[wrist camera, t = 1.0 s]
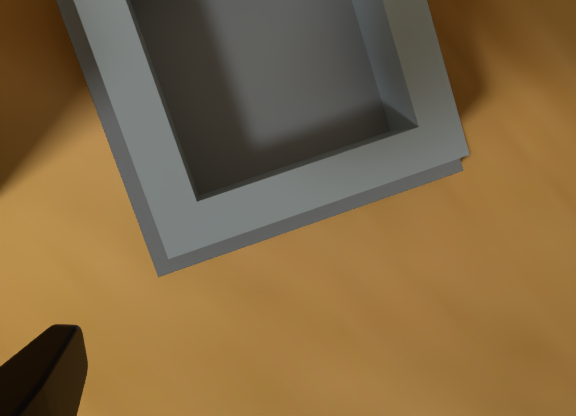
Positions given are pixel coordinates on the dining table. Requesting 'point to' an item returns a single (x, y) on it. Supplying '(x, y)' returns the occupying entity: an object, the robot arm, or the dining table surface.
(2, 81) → the dining table surface
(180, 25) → the socket holder
